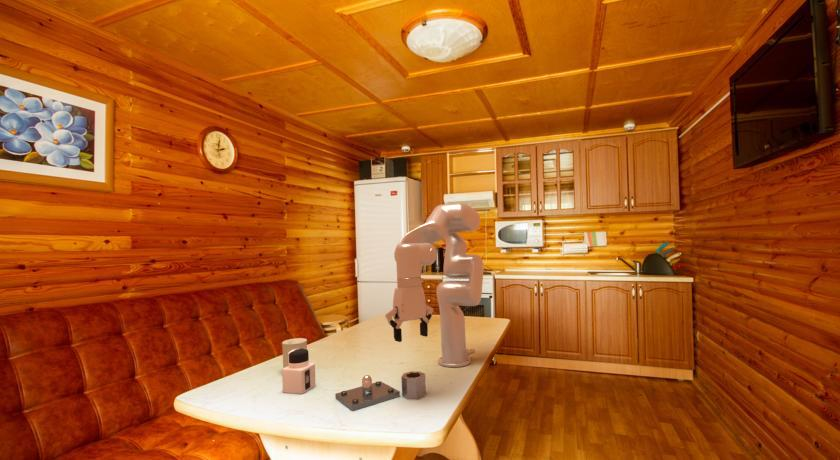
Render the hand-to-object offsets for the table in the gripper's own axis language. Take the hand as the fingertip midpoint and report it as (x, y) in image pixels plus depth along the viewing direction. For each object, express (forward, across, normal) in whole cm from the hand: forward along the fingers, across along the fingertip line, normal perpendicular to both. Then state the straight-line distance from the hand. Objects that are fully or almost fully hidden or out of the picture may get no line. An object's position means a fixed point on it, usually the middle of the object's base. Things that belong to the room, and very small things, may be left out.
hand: (411, 338), depth 120 cm
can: (+18, +21, -50) cm, 57 cm away
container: (+18, +26, -30) cm, 43 cm away
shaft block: (+18, +12, -8) cm, 23 cm away
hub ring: (+17, 0, 0) cm, 17 cm away
